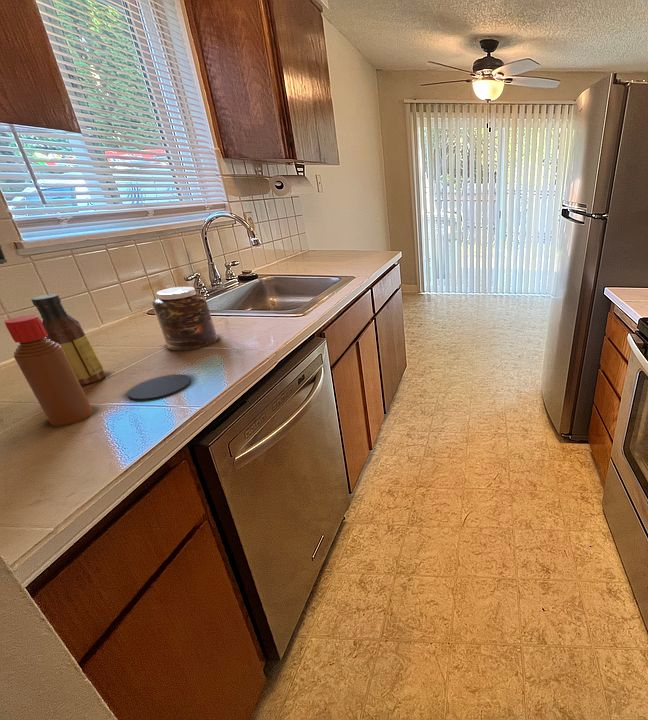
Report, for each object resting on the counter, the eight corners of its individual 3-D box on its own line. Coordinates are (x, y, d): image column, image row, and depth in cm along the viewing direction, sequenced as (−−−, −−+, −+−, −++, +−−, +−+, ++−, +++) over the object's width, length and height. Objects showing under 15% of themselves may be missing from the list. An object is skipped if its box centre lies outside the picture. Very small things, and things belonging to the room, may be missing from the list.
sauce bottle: (102, 371, 95) (64, 290, 87) (110, 378, 92) (72, 294, 83) (65, 382, 90) (22, 297, 82) (72, 390, 87) (28, 301, 78)
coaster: (115, 400, 82) (113, 398, 82) (157, 376, 92) (156, 374, 92) (165, 401, 82) (164, 399, 81) (202, 377, 92) (201, 375, 91)
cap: (7, 342, 68) (-4, 322, 66) (33, 334, 72) (23, 315, 70) (29, 342, 68) (19, 322, 66) (54, 334, 71) (44, 315, 70)
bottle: (41, 426, 74) (-14, 327, 66) (73, 409, 79) (25, 315, 71) (71, 426, 74) (19, 327, 65) (101, 409, 79) (57, 316, 71)
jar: (217, 332, 119) (201, 282, 112) (218, 344, 110) (202, 291, 103) (168, 341, 113) (149, 289, 107) (166, 354, 104) (145, 298, 98)
